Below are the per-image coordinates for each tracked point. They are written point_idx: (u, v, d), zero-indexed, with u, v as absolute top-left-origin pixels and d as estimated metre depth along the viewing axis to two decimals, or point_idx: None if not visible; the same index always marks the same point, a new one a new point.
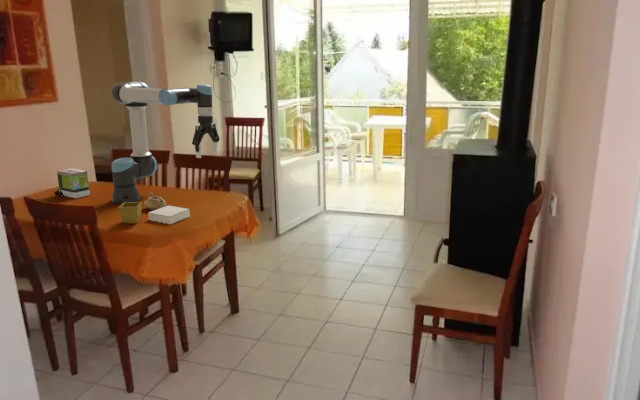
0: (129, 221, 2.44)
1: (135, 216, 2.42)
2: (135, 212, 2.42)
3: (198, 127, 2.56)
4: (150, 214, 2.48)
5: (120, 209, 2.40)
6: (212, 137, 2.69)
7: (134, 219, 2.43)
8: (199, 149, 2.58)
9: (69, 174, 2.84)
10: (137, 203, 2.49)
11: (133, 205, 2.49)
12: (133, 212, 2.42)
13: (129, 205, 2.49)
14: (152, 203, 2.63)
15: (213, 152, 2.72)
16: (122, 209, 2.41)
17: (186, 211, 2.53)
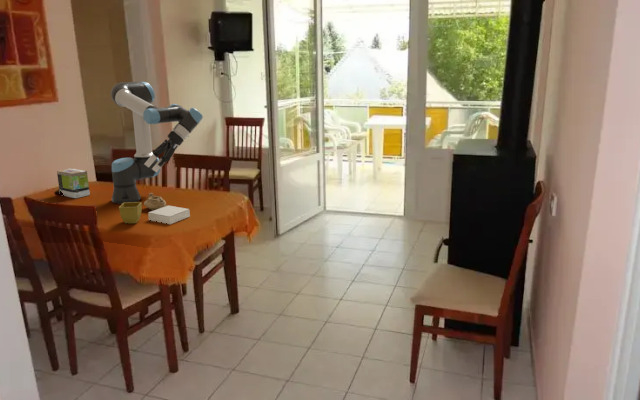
0: (129, 221, 2.44)
1: (135, 216, 2.42)
2: (135, 212, 2.42)
3: (176, 146, 2.44)
4: (150, 214, 2.48)
5: (120, 209, 2.40)
6: (159, 152, 2.52)
7: (134, 219, 2.43)
8: None
9: (69, 174, 2.84)
10: (137, 203, 2.49)
11: (133, 205, 2.49)
12: (133, 212, 2.42)
13: (129, 205, 2.49)
14: (152, 203, 2.63)
15: (147, 164, 2.51)
16: (122, 209, 2.41)
17: (186, 211, 2.53)
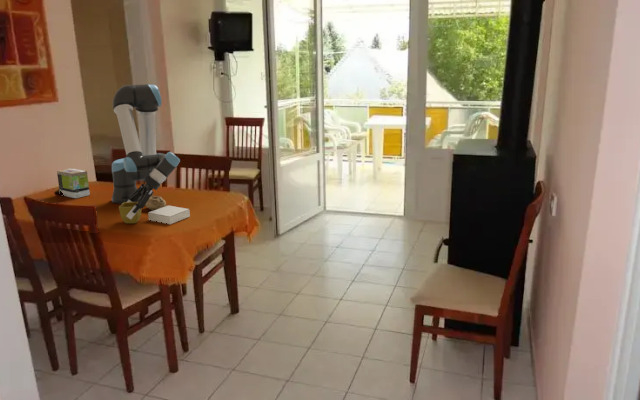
0: (129, 221, 2.44)
1: (135, 216, 2.42)
2: None
3: (151, 192, 2.42)
4: (150, 214, 2.48)
5: (120, 209, 2.40)
6: (136, 197, 2.50)
7: (134, 219, 2.43)
8: (136, 211, 2.41)
9: (69, 174, 2.84)
10: None
11: (133, 205, 2.49)
12: None
13: (129, 205, 2.49)
14: (152, 203, 2.63)
15: None
16: (122, 209, 2.41)
17: (186, 211, 2.53)
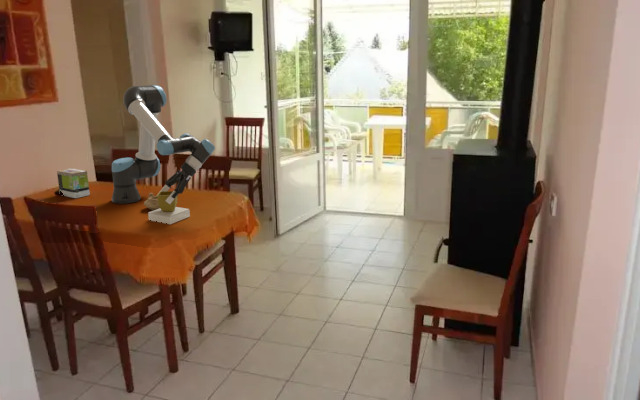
0: (166, 209, 2.49)
1: (172, 204, 2.48)
2: (173, 200, 2.47)
3: (189, 178, 2.47)
4: (150, 214, 2.48)
5: (158, 197, 2.46)
6: (172, 183, 2.55)
7: (171, 207, 2.48)
8: None
9: (69, 174, 2.84)
10: None
11: (169, 194, 2.54)
12: None
13: (166, 194, 2.54)
14: (152, 203, 2.63)
15: None
16: (160, 197, 2.46)
17: (186, 211, 2.53)
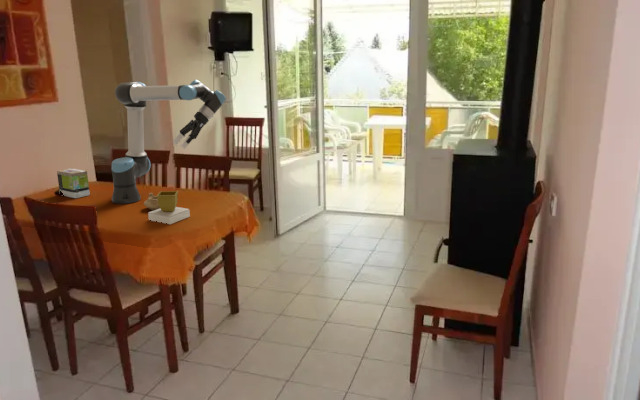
0: (166, 209, 2.49)
1: (172, 204, 2.48)
2: (173, 200, 2.47)
3: (202, 125, 2.66)
4: (150, 214, 2.48)
5: (158, 197, 2.46)
6: (186, 131, 2.74)
7: (171, 207, 2.48)
8: (189, 142, 2.63)
9: (69, 174, 2.84)
10: (173, 192, 2.54)
11: (169, 194, 2.54)
12: (171, 200, 2.47)
13: (166, 194, 2.54)
14: (152, 203, 2.63)
15: (175, 142, 2.73)
16: (160, 197, 2.46)
17: (186, 211, 2.53)
